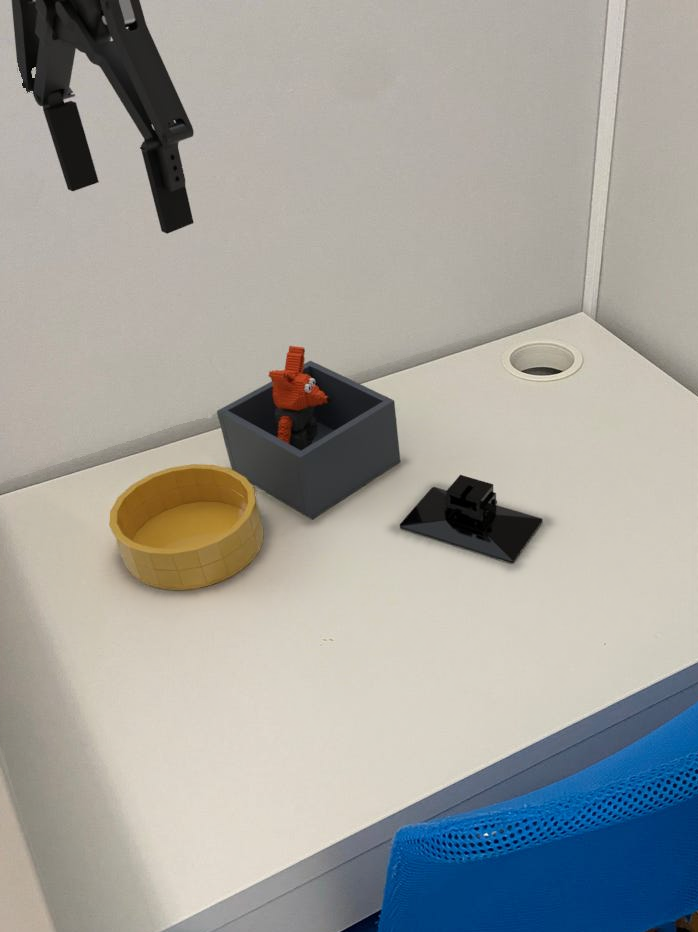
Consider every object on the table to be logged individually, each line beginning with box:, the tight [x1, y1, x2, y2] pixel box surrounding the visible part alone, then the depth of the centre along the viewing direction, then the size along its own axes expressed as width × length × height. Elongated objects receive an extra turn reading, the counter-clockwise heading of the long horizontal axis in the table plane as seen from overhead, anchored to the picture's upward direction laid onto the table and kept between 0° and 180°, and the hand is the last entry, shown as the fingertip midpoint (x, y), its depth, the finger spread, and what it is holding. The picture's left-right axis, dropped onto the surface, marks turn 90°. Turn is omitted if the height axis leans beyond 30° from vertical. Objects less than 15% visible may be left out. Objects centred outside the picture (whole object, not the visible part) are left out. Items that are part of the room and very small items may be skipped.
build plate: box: [399, 474, 543, 565], centre depth 90 cm, size 12×7×5 cm, turn 63°
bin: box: [216, 360, 401, 520], centre depth 97 cm, size 13×13×8 cm
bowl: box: [108, 463, 265, 591], centre depth 89 cm, size 13×13×4 cm
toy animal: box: [268, 345, 332, 450], centre depth 94 cm, size 8×6×12 cm
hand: (129, 206), depth 81 cm, fingers open, 13 cm apart
